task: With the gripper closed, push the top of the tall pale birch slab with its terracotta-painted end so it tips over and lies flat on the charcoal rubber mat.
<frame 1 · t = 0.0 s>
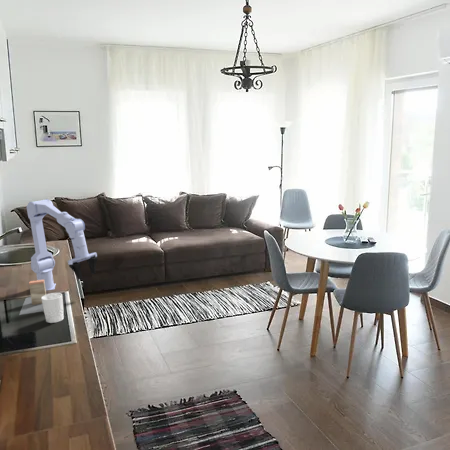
hand: (86, 276, 207), 11 cm above the worktop, tool pointing down, fingers open, 7 cm apart
birch slab: (39, 302, 206), resting on rubber mat
rubber mat: (39, 304, 205), on the worktop
white cup: (55, 320, 186), on the worktop
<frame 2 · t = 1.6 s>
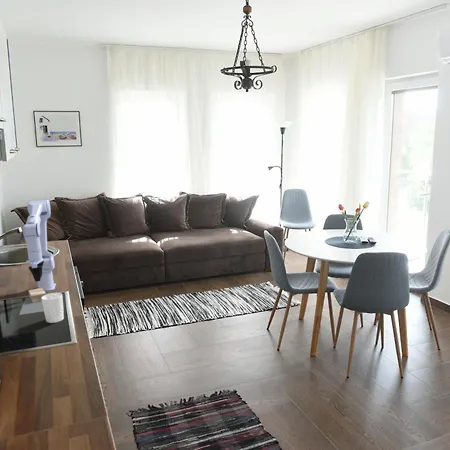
hand: (38, 279, 210), 9 cm above the worktop, tool pointing down, fingers open, 5 cm apart
birch slab: (39, 297, 208), point 2 cm above the worktop, tilted 90°, touching rubber mat
everything else where it was.
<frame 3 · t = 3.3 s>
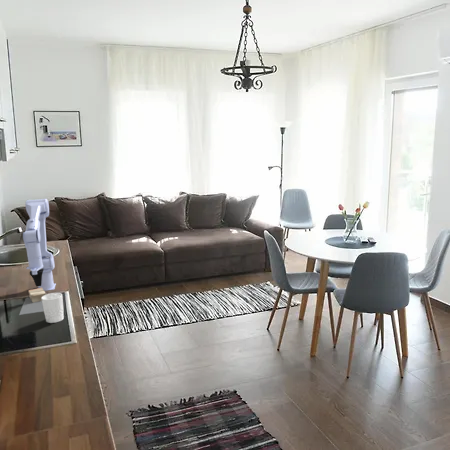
hand: (38, 285, 209), 7 cm above the worktop, tool pointing down, fingers closed
nothing on the worktop moved.
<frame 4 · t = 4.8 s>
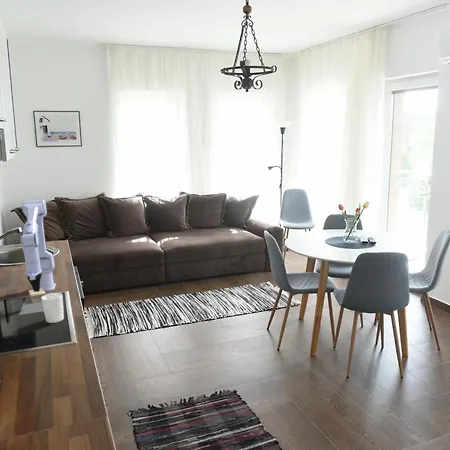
hand: (36, 291, 202), 7 cm above the worktop, tool pointing down, fingers closed
nothing on the worktop moved.
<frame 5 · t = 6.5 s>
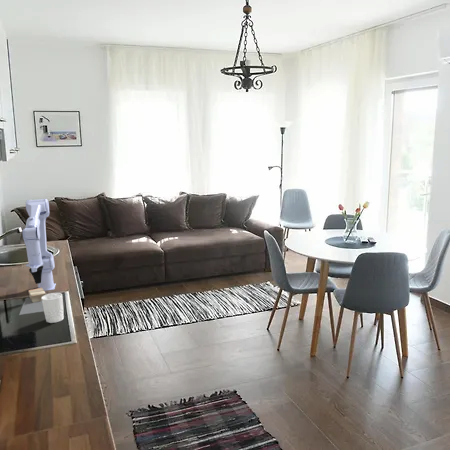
hand: (38, 283, 209), 8 cm above the worktop, tool pointing down, fingers closed
nothing on the worktop moved.
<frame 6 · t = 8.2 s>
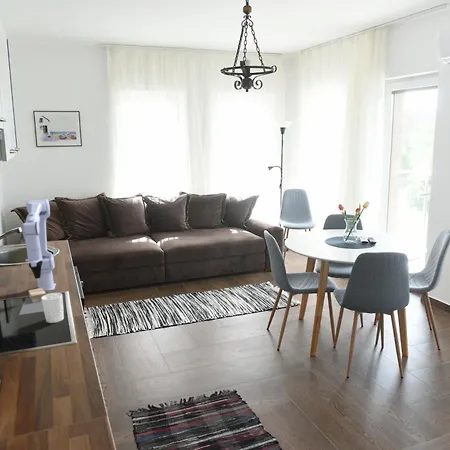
hand: (37, 278, 209), 10 cm above the worktop, tool pointing down, fingers closed
nothing on the worktop moved.
at the end: birch slab tilted 90°; birch slab inside the target area (5.3 cm from its centre), point 1.9 cm above the worktop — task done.
